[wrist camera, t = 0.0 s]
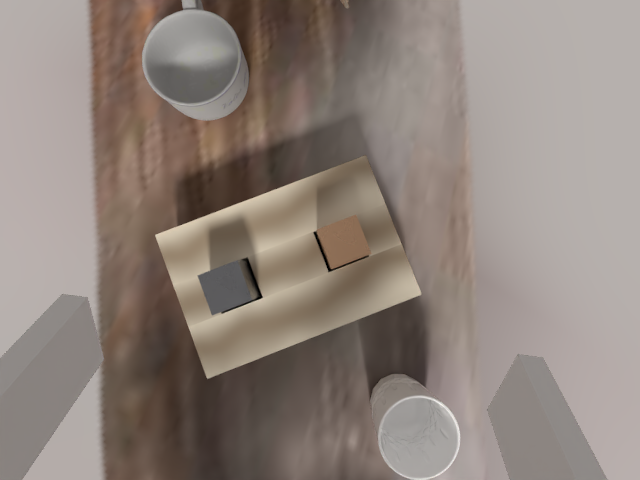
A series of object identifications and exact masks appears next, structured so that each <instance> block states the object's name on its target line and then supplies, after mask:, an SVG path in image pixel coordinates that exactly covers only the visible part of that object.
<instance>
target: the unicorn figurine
mask: <svg viewBox="0 0 640 480" xmlns="http://www.w3.org/2000/svg"><path fill="white" fill-rule="evenodd" d="M340 1H341V2H342V4H343V5H344V7H345V8H346V9H348V8H349V4H348V1H349V0H340Z"/></svg>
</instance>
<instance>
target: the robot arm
mask: <svg viewBox="0 0 640 480" xmlns="http://www.w3.org/2000/svg"><path fill="white" fill-rule="evenodd" d="M103 360H104V357H103V353H102V350H101V346H100V342H99V338H98V335H97V331H96V327H95V324H94V320H93V316H92V312H91V309H90V305H89V301H88V298H87V297H81V296H73V295H65V294H62V295H61V296H60V297H59V298H58V299H57V300H56V301H55V302H54V303H53V304H52V305H51V306H50V307H49V309H47V310H46V311H45V312H44V313H43V315H42V316H41V317H40V318H39V319H38V320H37V321H36V322H35V323H34V324H33V325H32V326H31V327H30V328H29V329H28V330H27V331H26V332H25V333H24V334H23V335H22V336H21V337H20V338H19V339H18V340H17V341H16V342H15V343H14V345H13V346H12V347H11V348H10V349H9V350H8V351H7V352H6V353H5V354H4V355H3V356H2V357H1V358H0V480H22V479H23V478H24V476H25V475H26V473H27V472H28V470H29V468H30V467H31V466H32V464H33V463H34V461H35V460H36V458H37V457H38V456H39V454H40V453H41V451H42V450H43V448H44V447H45V445H46V444H47V442H48V441H49V439H50V438H51V436H52V435H53V433H54V432H55V430H56V429H57V428H58V426H59V424H60V423H61V421H62V420H63V419H64V417H65V416H66V414H67V413H68V411H69V410H70V408H71V407H72V405H73V404H74V403H75V401H76V400H77V398H78V397H79V395H80V394H81V392H82V391H83V389H84V388H85V386H86V385H87V383H88V382H89V381H90V379H91V378H92V376H93V375H94V373H95V372H96V370H97V369H98V367H99V366H100V364H101V363H102V361H103ZM487 411H488V414H489V417H490V420H491V423H492V426H493V429H494V432H495V436H496V439H497V441H498V445H499V448H500V451H501V454H502V457H503V460H504V463H505V466H506V469H507V472H508V475H509V479H510V480H607V478H606V476H605V474H604V472H603V470H602V469H601V467H600V465H599V463H598V461H597V459H596V457H595V455H594V453H593V451H592V450H591V448H590V446H589V444H588V442H587V440H586V438H585V436H584V434H583V433H582V431H581V429H580V427H579V425H578V423H577V421H576V419H575V417H574V415H573V414H572V412H571V410H570V408H569V406H568V404H567V402H566V400H565V398H564V396H563V395H562V393H561V391H560V389H559V387H558V385H557V383H556V381H555V379H554V378H553V376H552V374H551V372H550V370H549V368H548V366H547V364H546V362H545V360H544V359H543V358H542V357H536V356H528V355H520V354H518V355H517V357H516V359H515V360H514V362H513V364H512V366H511V367H510V369H509V371H508V373H507V375H506V376H505V378H504V380H503V382H502V384H501V385H500V387H499V389H498V391H497V393H496V395H495V396H494V398H493V400H492V402H491V403H490V405H489V407H488V409H487Z"/></svg>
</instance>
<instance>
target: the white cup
mask: <svg viewBox="0 0 640 480" xmlns="http://www.w3.org/2000/svg"><path fill="white" fill-rule="evenodd" d="M370 404H371V409H372V418H373V424H374V429H375V432H376V436H377V440H378V444H379V448H380V452H381V454H382V456H383V458H384V460H385V462H386V463H387V464H388V465H389V467H390V468H391V469H393V470H394V471H395V472H396V473H398V474H399V475H401V476H403V477H406V478H409V479H413V480H426V479H430V478H433V477H436V476H438V475H440V474H441V473H443V472H444V471H445V470H447V469H448V468H449V466H450V465H451V464H452V463H453V461H454V460H455V458H456V456H457V453H458V450H459V446H460V430H459V426H458V423H457V421H456V418H455V416H454V415H453V413H452V412H451V411H450V409H449V408H448V407H447V406H446V405H445V404H443V403H442V402H441V401H440V400H439V399H438V398H437V397H436V396H435V395H434V394H432V393H431V392H430V391H429V390H428V389H427V388H425V387H424V386H423V385H421V384H420V383H419V382H418V381H416V380H415V379H413V378H411V377H409V376H407V375H405V374H391V375H389V376H386V377H384V378H382V379H381V380H380V381H379V382H378V383H377V384H376V386H375V387H374V388H373V391H372V395H371V399H370Z"/></svg>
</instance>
